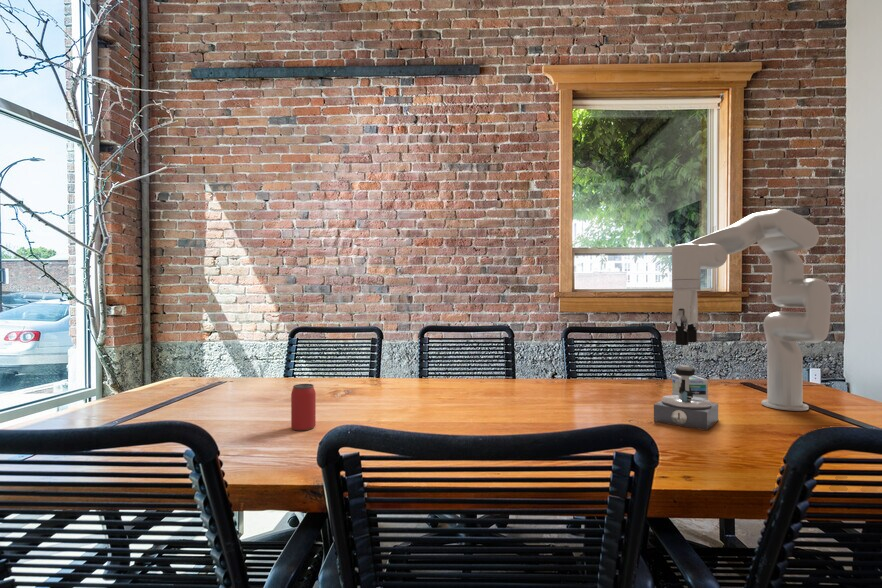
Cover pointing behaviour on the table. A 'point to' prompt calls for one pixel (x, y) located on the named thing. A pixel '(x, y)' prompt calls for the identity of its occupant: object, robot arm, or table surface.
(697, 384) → the light bulb box
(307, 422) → the beer can
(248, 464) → the table surface
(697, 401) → the scale pan
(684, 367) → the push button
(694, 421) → the scale
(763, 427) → the table surface
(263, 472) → the table surface
